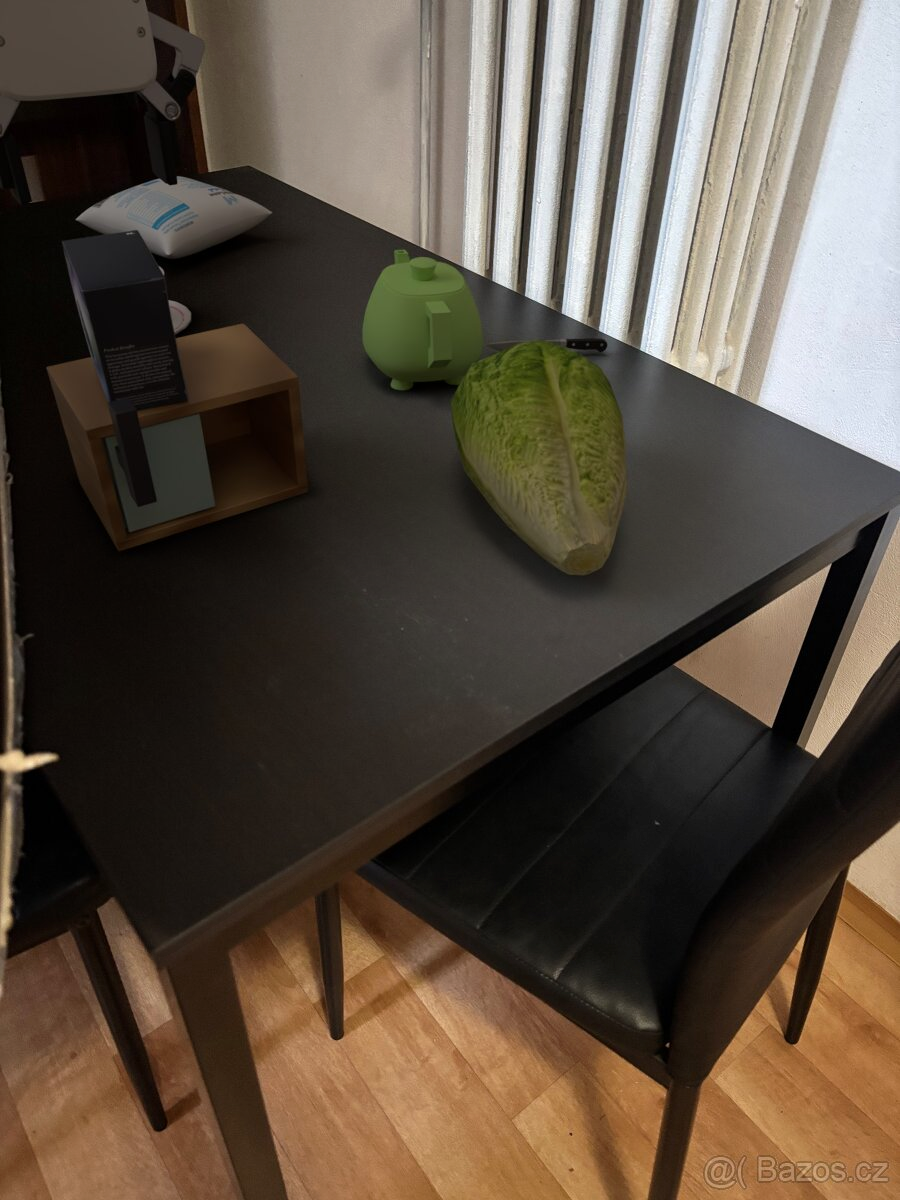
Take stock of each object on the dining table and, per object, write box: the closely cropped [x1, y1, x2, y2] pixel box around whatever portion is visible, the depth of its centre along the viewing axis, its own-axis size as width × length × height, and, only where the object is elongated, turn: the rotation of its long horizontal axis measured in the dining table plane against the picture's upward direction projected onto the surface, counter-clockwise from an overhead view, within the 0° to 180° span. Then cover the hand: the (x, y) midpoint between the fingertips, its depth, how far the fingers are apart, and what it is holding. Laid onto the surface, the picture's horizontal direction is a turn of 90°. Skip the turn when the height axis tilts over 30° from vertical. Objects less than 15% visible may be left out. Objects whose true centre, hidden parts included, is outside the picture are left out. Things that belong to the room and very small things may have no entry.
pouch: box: [75, 175, 273, 260], centre depth 129 cm, size 8×19×20 cm
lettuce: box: [450, 339, 628, 576], centre depth 80 cm, size 14×24×15 cm
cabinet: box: [46, 323, 309, 552], centre depth 82 cm, size 18×12×12 cm, turn 122°
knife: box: [484, 337, 609, 353], centre depth 107 cm, size 15×1×2 cm, turn 95°
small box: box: [61, 230, 189, 410], centre depth 73 cm, size 11×6×10 cm, turn 25°
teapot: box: [361, 249, 484, 391], centre depth 101 cm, size 20×13×13 cm
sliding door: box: [104, 398, 215, 532], centre depth 74 cm, size 8×4×13 cm, turn 122°
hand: (95, 189), depth 61 cm, fingers open, 9 cm apart
